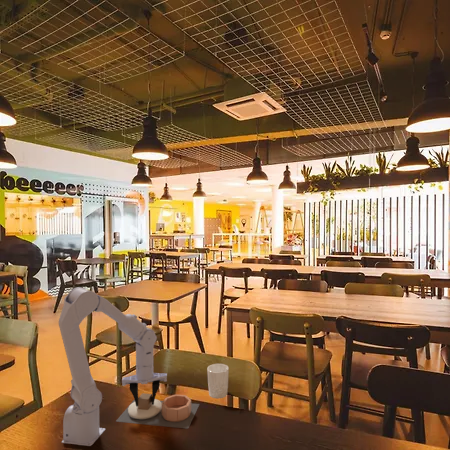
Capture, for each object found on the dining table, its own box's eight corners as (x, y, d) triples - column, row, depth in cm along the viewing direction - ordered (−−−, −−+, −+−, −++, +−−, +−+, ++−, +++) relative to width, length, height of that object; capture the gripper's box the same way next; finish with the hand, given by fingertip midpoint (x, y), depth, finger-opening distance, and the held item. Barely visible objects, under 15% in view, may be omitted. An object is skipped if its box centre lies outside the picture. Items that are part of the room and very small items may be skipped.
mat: (115, 422, 105) (115, 421, 105) (135, 400, 119) (135, 398, 119) (188, 430, 101) (188, 428, 101) (199, 405, 114) (199, 404, 114)
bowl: (158, 420, 105) (158, 408, 105) (168, 405, 114) (168, 393, 114) (185, 423, 103) (185, 410, 103) (193, 407, 112) (193, 395, 112)
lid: (122, 417, 106) (122, 403, 106) (136, 399, 117) (136, 387, 117) (154, 420, 104) (154, 406, 104) (166, 402, 115) (166, 389, 115)
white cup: (215, 403, 116) (215, 374, 116) (203, 394, 122) (203, 367, 122) (233, 396, 121) (232, 368, 121) (220, 387, 127) (220, 361, 127)
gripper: (120, 370, 105) (121, 413, 105) (166, 366, 108) (167, 407, 108) (123, 361, 112) (123, 401, 112) (166, 358, 115) (166, 397, 115)
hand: (145, 404), depth 110 cm, fingers closed on lid, 4 cm apart
